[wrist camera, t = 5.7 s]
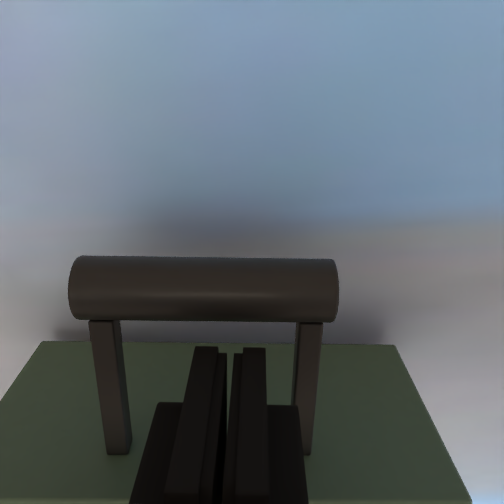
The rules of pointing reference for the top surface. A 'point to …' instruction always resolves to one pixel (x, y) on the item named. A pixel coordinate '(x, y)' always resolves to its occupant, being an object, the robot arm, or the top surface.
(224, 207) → the top surface
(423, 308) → the top surface
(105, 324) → the drawer
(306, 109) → the top surface
